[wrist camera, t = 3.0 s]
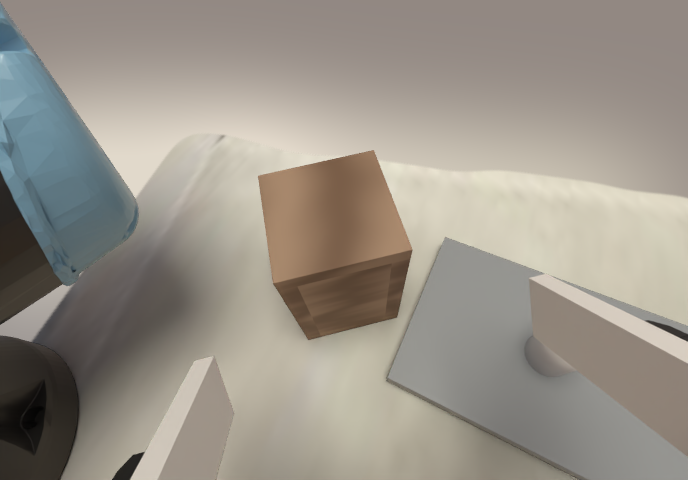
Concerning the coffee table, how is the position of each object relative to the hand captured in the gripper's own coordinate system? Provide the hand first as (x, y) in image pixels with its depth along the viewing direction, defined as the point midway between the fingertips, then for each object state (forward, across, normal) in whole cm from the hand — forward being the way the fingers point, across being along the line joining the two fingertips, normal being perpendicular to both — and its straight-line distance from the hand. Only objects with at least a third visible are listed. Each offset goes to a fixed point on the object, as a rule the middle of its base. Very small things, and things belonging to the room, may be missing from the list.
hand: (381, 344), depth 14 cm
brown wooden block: (+14, -1, -3) cm, 14 cm away
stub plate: (+8, +12, -9) cm, 17 cm away
